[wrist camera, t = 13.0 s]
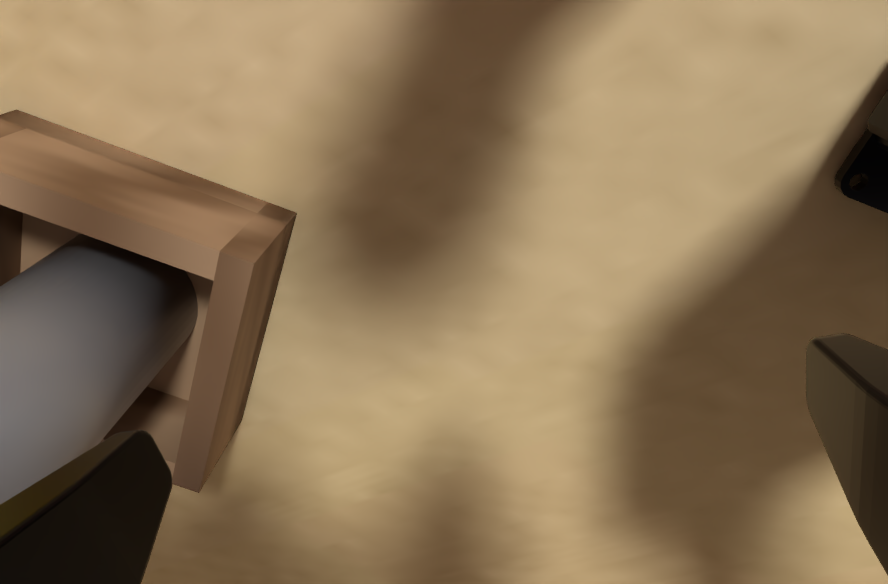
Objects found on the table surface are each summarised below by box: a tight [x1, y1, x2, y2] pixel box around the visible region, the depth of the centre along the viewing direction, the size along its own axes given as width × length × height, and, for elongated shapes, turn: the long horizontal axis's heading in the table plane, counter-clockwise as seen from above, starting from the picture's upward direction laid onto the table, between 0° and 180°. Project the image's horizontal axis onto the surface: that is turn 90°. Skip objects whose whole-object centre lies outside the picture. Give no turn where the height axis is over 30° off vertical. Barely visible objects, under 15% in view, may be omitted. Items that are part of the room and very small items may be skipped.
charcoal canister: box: [0, 234, 198, 504], centre depth 17 cm, size 5×5×12 cm
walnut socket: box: [0, 110, 296, 493], centre depth 22 cm, size 10×10×4 cm
